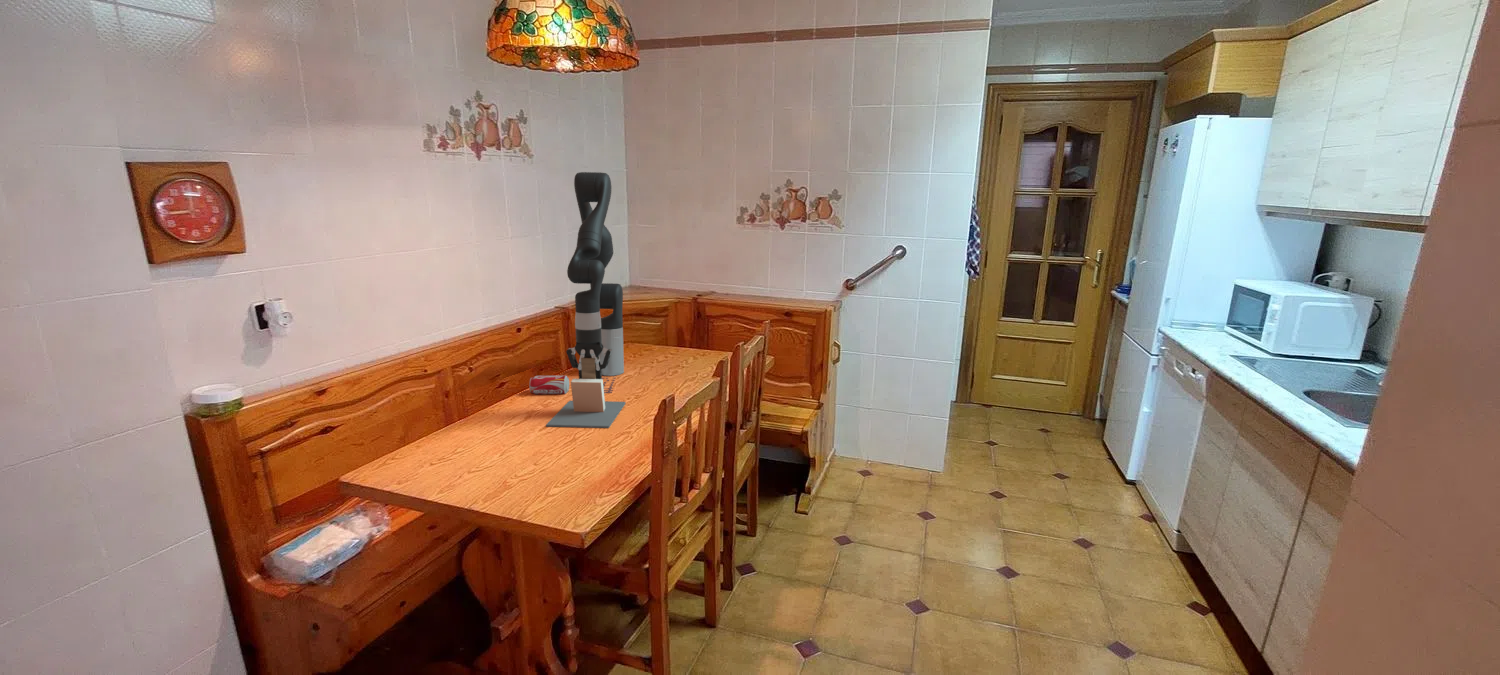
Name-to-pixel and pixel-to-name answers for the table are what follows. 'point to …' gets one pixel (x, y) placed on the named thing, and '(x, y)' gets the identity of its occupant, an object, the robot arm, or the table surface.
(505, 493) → the table surface
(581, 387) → the tile
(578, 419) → the mat
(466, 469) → the table surface
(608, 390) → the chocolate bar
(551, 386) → the beverage can
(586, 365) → the block
